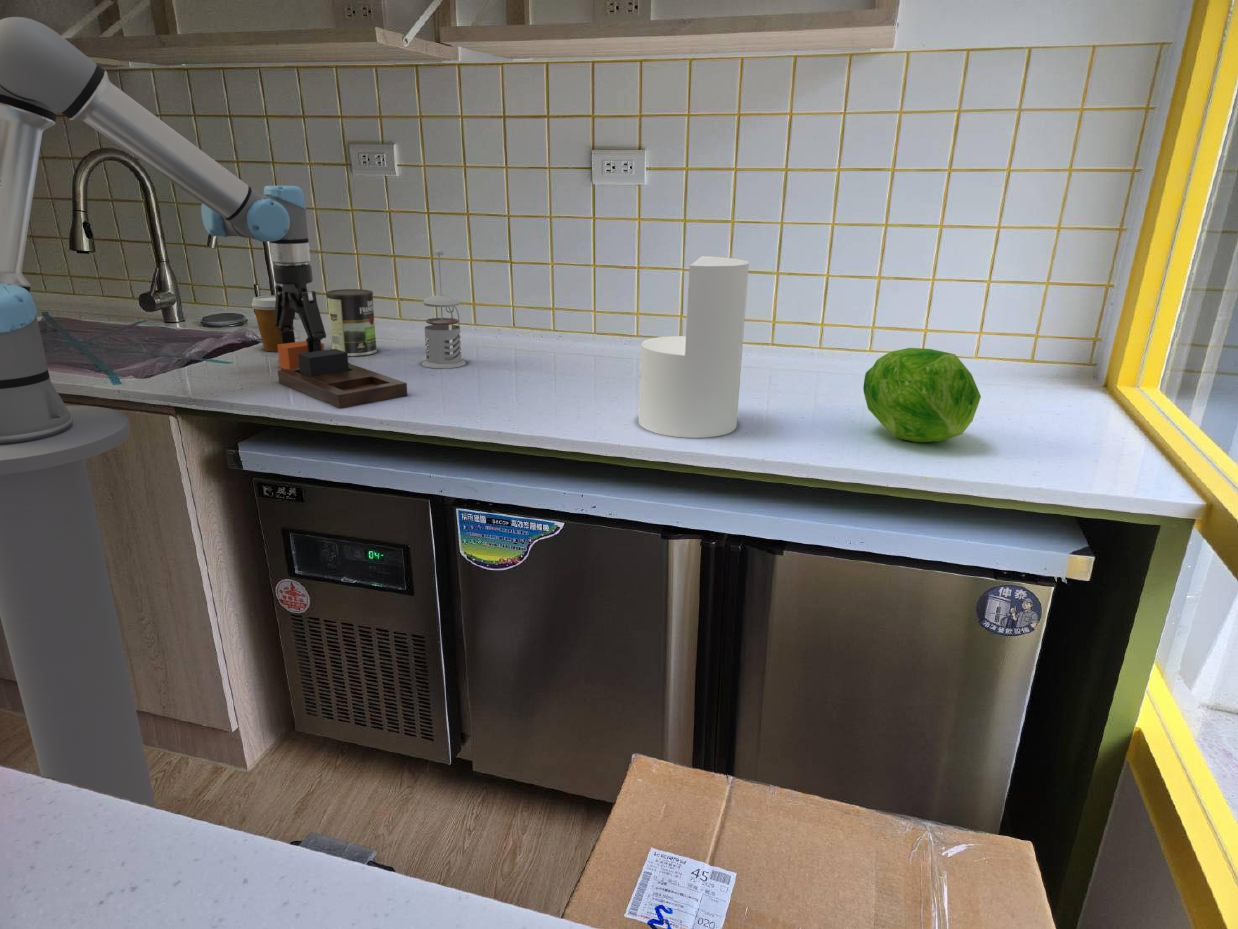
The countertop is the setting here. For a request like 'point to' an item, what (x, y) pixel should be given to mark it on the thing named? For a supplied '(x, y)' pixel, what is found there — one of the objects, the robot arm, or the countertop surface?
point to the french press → (442, 333)
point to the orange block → (292, 353)
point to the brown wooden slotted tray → (345, 386)
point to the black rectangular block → (323, 362)
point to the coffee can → (352, 321)
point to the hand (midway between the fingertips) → (303, 365)
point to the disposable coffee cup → (267, 322)
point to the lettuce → (921, 394)
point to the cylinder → (698, 357)
